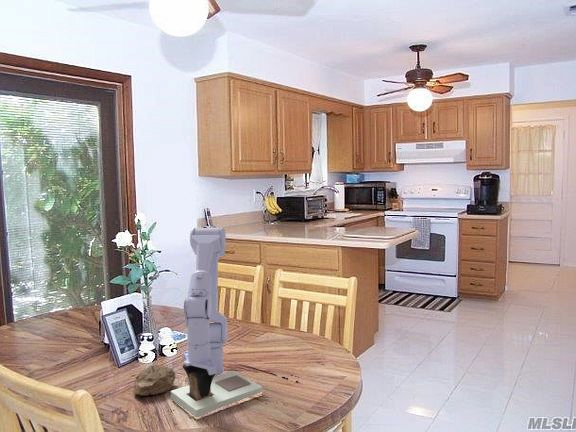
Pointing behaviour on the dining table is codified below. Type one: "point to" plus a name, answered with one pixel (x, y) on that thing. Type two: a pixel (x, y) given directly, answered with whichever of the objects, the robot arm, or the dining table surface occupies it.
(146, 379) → the rock
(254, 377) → the dining table surface
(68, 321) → the dining table surface
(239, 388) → the board
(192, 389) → the block
